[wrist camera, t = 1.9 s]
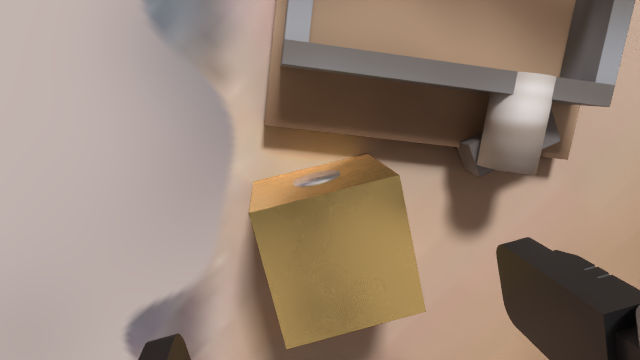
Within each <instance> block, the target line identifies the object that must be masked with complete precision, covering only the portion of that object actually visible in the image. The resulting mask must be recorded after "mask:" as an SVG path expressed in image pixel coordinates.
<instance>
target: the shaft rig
mask: <svg viewBox="0 0 640 360" xmlns="http://www.w3.org/2000/svg"><path fill="white" fill-rule="evenodd" d="M634 4H635V0H276V9H275V19H274V29H273V40H272V50H271V60H270V70H269V80H268V90H267V100H266V110H265V120H264V125H267V126H275V127H284V128H293V129H302V130H311V131H319V132H328V133H337V134H346V135H355V136H363V137H372V138H381V139H390V140H399V141H408V142H416V143H425V144H434V145H443V146H452V147H457V149H458V152H459V155H460V157H461V160H462V163H463V166H464V169H465V171H467V172H470V173H472V174H474V175H477V176H479V177H481V176H483V175H485V174H487V173H490V172H492V171H494V170H499V171H505V172H511V173H519V174H530V175H534V174H537V170H538V165H539V160H540V157H549V158H557V159H566V160H568V156H569V152H570V148H571V143H572V139H573V134H574V130H575V126H576V121H577V117H578V112H579V108H580V105H586V106H603V107H610V104H611V100H612V96H613V91H614V87H615V83H616V79H617V75H618V70H619V66H620V62H621V58H622V54H623V50H624V45H625V41H626V37H627V33H628V29H629V25H630V20H631V16H632V12H633V8H634Z"/></svg>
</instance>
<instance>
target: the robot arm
mask: <svg viewBox="0 0 640 360" xmlns="http://www.w3.org/2000/svg"><path fill="white" fill-rule="evenodd" d="M496 255H497V262H498V269H499V275H500V282H501V288H502V295H503V301H504V305H505V308H506V311H507V314H508V316H509V318H510V319H511V321H512V323H513V324H514V325H515V326H516V328H518V329H519V330H520V331H521V332H522V333H523V334H524V335H525V336H526V337H527V338H528V339H529V340H530V341H531V342H532V343H533V344H534V345H535V346H536V347H537V348H538V349H539V350H540V351H541V352H542V353H543V354H544V355H545V356H546V357H547V358H548V359H549V360H640V290H638V289H637V288H635V287H633V286H631V285H629V284H628V283H626V282H624V281H622V280H621V279H619V278H617V277H615V276H613V275H609V273H608V272H606V271H604V270H603V269H601V268H599V267H595V265H594V264H592V263H590V262H588V261H586V260H585V259H583V258H581V257H579V256H577V255H573V254H569V253H565V252H562V251H558V250H554V251H552V250H550V249H548V248H547V247H545V246H543V245H542V244H540V243H538V242H536V241H535V240H533V239H531V238H528V237H527V238H523V239H519V240H516V241H512V242H509V243H505V244H501V245H499V246H498V247H497V251H496ZM138 360H191V359H190V356H189V353H188V350H187V347H186V344H185V342H184V339H183V338H182V336H181V335H180V334H174V335H171V336H167V337H164V338H160V339H156V340H153V341H149V342H147V343H146V344H145V346H144V348H143V350H142V353H141V355H140V357H139V359H138Z"/></svg>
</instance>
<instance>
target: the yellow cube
mask: <svg viewBox="0 0 640 360" xmlns="http://www.w3.org/2000/svg"><path fill="white" fill-rule="evenodd" d="M249 216H250V219H251V223H252V226H253V230H254V234H255V237H256V241H257V245H258V248H259V252H260V255H261V259H262V263H263V266H264V270H265V274H266V277H267V281H268V284H269V288H270V292H271V295H272V299H273V303H274V306H275V310H276V314H277V317H278V321H279V324H280V328H281V332H282V335H283V339H284V343H285V346H286V349H290V348H294V347H297V346H301V345H305V344H308V343H312V342H316V341H319V340H323V339H327V338H330V337H334V336H338V335H341V334H345V333H349V332H352V331H356V330H360V329H364V328H367V327H371V326H375V325H378V324H382V323H386V322H389V321H393V320H397V319H400V318H404V317H408V316H411V315H415V314H419V313H422V312H426V310H425V305H424V299H423V294H422V289H421V284H420V279H419V274H418V268H417V263H416V258H415V253H414V248H413V243H412V237H411V232H410V227H409V222H408V217H407V212H406V206H405V201H404V196H403V191H402V186H401V181H400V176H399V175H398V174H397V173H396V172H394V171H393V170H391V169H390V168H388V167H387V166H385V165H384V164H382V163H381V162H379V161H378V160H376V159H375V158H373V157H372V156H370V155H369V154H363V155H359V156H355V157H351V158H347V159H343V160H339V161H335V162H331V163H327V164H323V165H319V166H315V167H311V168H307V169H303V170H299V171H295V172H291V173H287V174H282V175H278V176H274V177H270V178H266V179H262V180H258V181H254V182H253V189H252V195H251V202H250V208H249Z"/></svg>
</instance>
